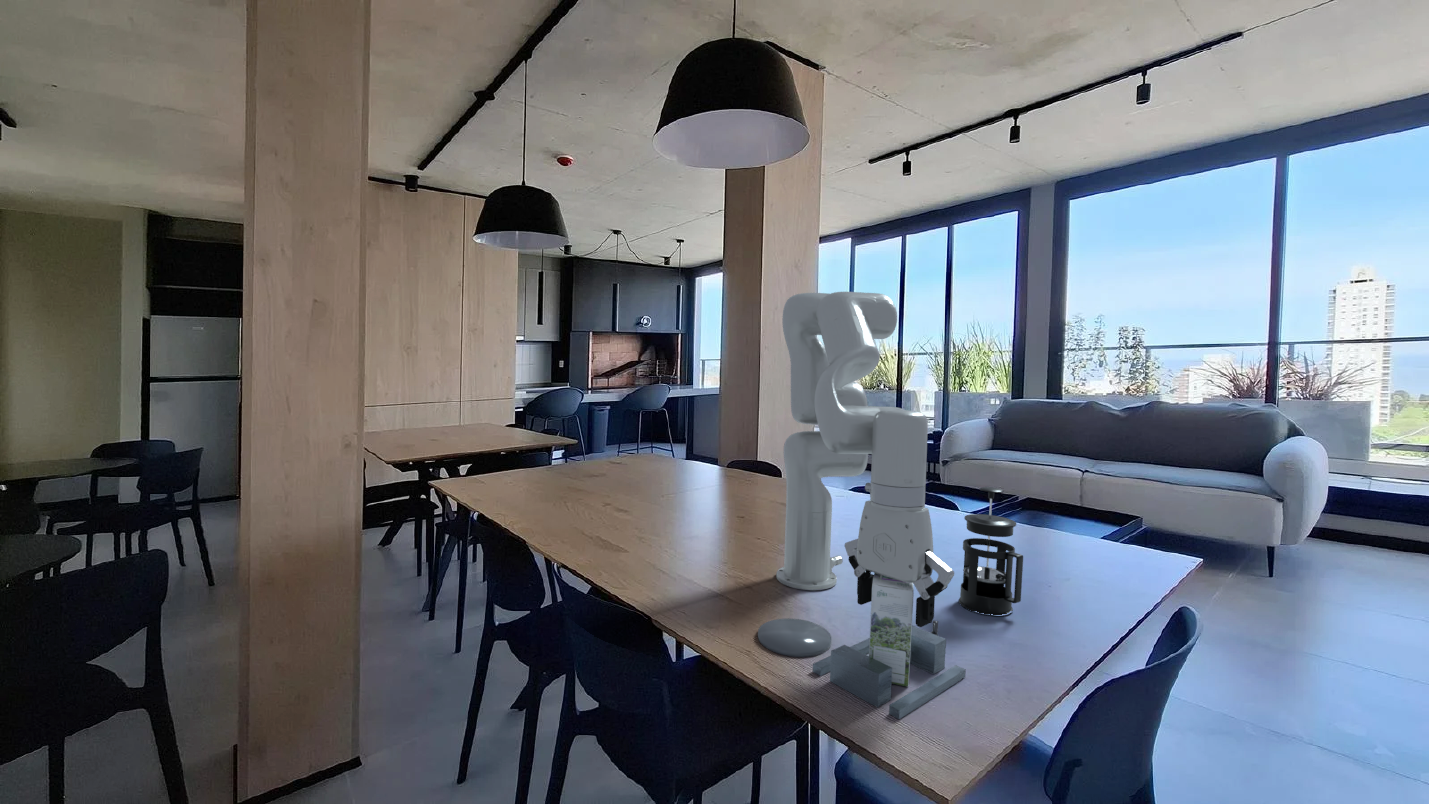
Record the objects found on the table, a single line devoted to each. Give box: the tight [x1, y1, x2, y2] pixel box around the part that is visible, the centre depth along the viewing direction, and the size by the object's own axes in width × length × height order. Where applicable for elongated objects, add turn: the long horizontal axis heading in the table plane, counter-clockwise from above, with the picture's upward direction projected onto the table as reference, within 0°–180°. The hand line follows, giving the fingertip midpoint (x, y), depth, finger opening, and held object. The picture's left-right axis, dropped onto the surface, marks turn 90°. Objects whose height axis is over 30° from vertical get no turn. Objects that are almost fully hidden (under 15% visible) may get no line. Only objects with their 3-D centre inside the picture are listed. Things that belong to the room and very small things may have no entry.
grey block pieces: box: [812, 619, 967, 720], centre depth 86 cm, size 21×14×5 cm
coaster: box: [757, 617, 832, 658], centre depth 95 cm, size 12×12×1 cm
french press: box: [958, 486, 1024, 615], centre depth 110 cm, size 12×9×23 cm
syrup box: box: [868, 572, 915, 687], centre depth 84 cm, size 6×6×14 cm
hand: (893, 612), depth 84 cm, fingers open, 9 cm apart
